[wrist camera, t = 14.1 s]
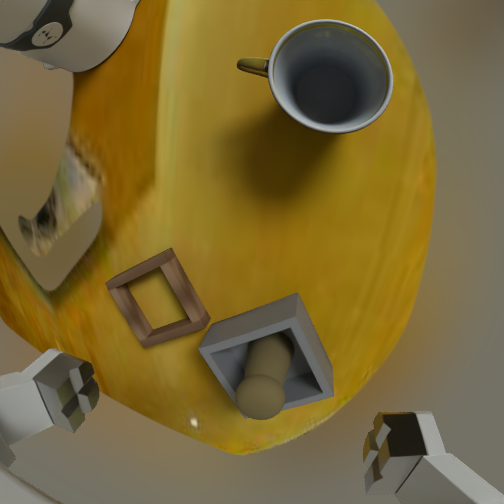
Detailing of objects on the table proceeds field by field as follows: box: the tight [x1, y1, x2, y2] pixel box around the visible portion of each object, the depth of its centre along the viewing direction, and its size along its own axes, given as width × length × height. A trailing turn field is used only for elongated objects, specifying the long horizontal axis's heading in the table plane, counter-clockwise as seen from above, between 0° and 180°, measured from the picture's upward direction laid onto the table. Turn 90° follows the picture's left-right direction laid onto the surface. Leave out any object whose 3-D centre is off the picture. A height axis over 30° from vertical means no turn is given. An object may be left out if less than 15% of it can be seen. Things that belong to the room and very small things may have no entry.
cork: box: [235, 331, 295, 420], centre depth 34 cm, size 6×6×11 cm
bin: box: [198, 293, 334, 419], centre depth 38 cm, size 12×12×6 cm
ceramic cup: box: [237, 19, 393, 134], centre depth 26 cm, size 13×10×10 cm
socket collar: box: [105, 248, 211, 348], centre depth 40 cm, size 10×10×2 cm
